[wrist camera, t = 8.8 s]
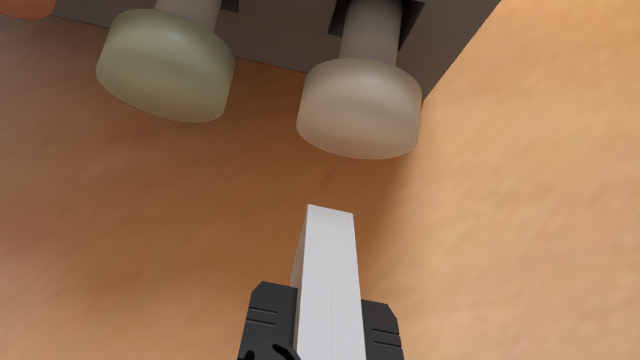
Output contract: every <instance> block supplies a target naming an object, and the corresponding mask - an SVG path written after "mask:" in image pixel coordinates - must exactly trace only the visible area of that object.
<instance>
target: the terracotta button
mask: <svg viewBox="0 0 640 360" xmlns="http://www.w3.org/2000/svg"><path fill="white" fill-rule="evenodd" d="M56 1H57V0H0V14H3V15H7V16H10V17H15V18H20V19H32V20H34V19H41V18H45V17H47V16H48V15H50V14H51V12H52V10H53V8H54V6H55V3H56Z"/></svg>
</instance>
